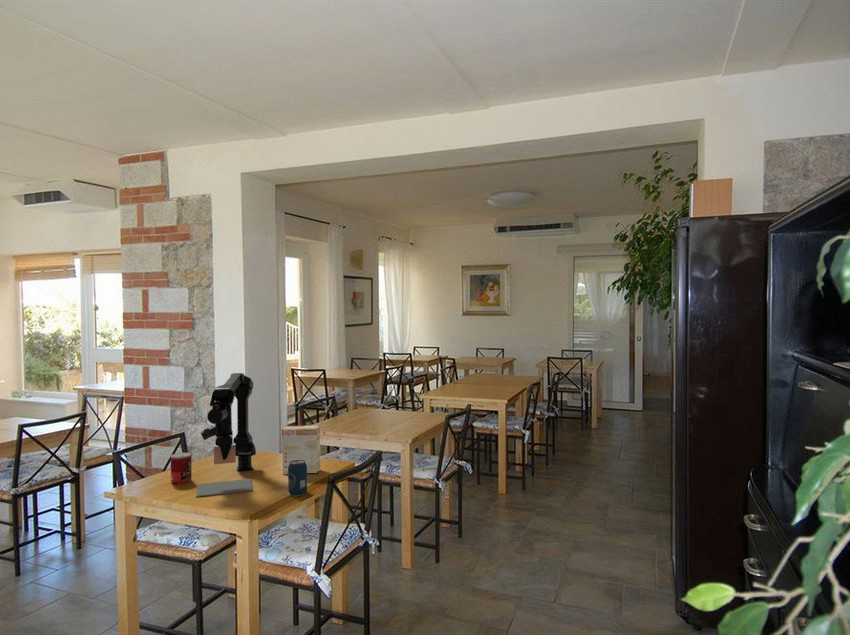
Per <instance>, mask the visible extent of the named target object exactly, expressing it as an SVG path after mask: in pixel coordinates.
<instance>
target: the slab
mask: <svg viewBox="0 0 850 635" xmlns="http://www.w3.org/2000/svg"><path fill="white" fill-rule="evenodd" d="M236 457H237V456H236V453H235V443H233V444H232V445H231V448H230V451H229V453H228V456H227V458H226V460H223V457H222V453H221V449H220V447H219V446H216V445H215V444H213V465H223V464H232V463H233V464H234V463H237V462H236V461H237V460H236V459H237V458H236Z"/></svg>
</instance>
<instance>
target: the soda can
mask: <svg viewBox="0 0 850 635" xmlns="http://www.w3.org/2000/svg"><path fill="white" fill-rule="evenodd" d="M287 475H288V477H287V480H288V481H287V482H288V483H287V484H288V489H287V490H288V493H289V495H290V496H291V497H292V496H293V497H301V496H304V495H305V494H307V491H308V474H307V465H306V463H305V461H304V460H294V461H291V462H290V464H289V466H288V474H287Z"/></svg>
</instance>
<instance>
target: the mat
mask: <svg viewBox="0 0 850 635" xmlns="http://www.w3.org/2000/svg"><path fill="white" fill-rule="evenodd" d="M253 490H254V489H253V483H252V478H242V479H234V480H226V481H225V480H224V481H217V482H216V481H215V482H208V483H207V482H206V483H198V486H197V490H196V491H197V492H196V496H195V498H201V497H200V496H205V497H211V496H210V495H214V496H219V495H220V496H222V494H223V495H231V494H230V493H232V494H239V492H241V493H247V491H250V492H253Z"/></svg>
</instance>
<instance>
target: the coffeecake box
mask: <svg viewBox="0 0 850 635" xmlns="http://www.w3.org/2000/svg"><path fill="white" fill-rule="evenodd" d="M320 428H321V425H286V426H284V427H283V428H282V429H281V443H282V444H281V446H282V447H281V448H282V449H281V453H282V456H281V457H282V475H288V466H289V464H290V462H291V461H294V460H304V461H305V463H306V465H307V473H316V472H318V471H319V470H320V468H321V465H322V464H321V429H320ZM320 471H321V470H320ZM320 471H319V472H320ZM319 472H318V473H319Z"/></svg>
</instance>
